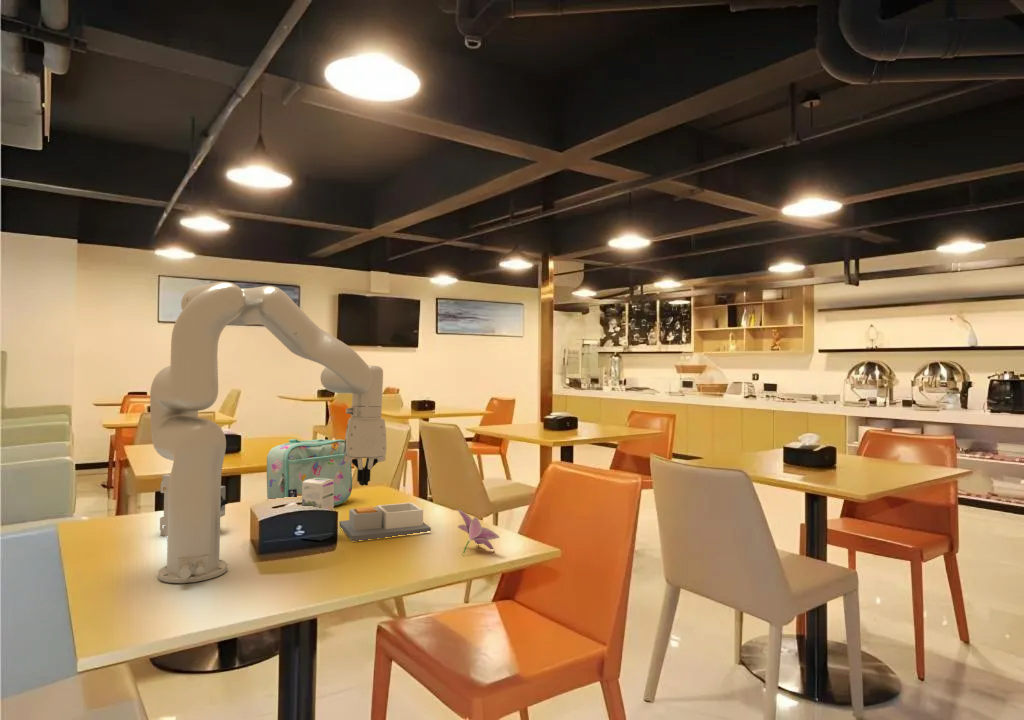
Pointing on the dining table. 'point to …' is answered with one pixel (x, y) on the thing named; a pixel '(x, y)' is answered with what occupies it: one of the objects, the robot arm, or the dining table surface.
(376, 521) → the grey compartment tray
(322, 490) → the syrup box
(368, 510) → the button
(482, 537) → the lily
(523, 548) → the dining table surface
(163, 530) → the circuit breaker
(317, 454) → the lunch box
